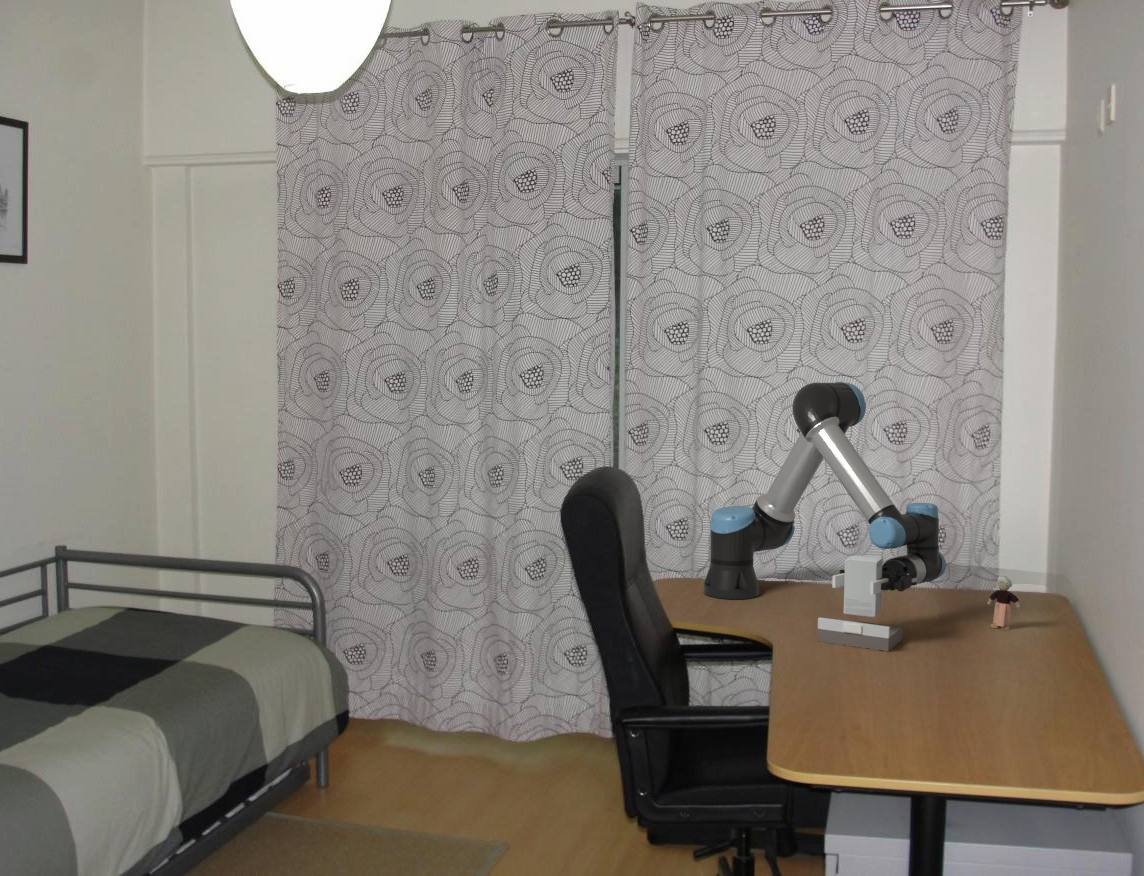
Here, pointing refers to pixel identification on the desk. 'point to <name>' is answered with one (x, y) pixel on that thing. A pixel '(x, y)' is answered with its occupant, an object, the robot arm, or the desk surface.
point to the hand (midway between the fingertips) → (852, 585)
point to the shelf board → (858, 633)
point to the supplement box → (862, 585)
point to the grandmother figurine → (1003, 604)
